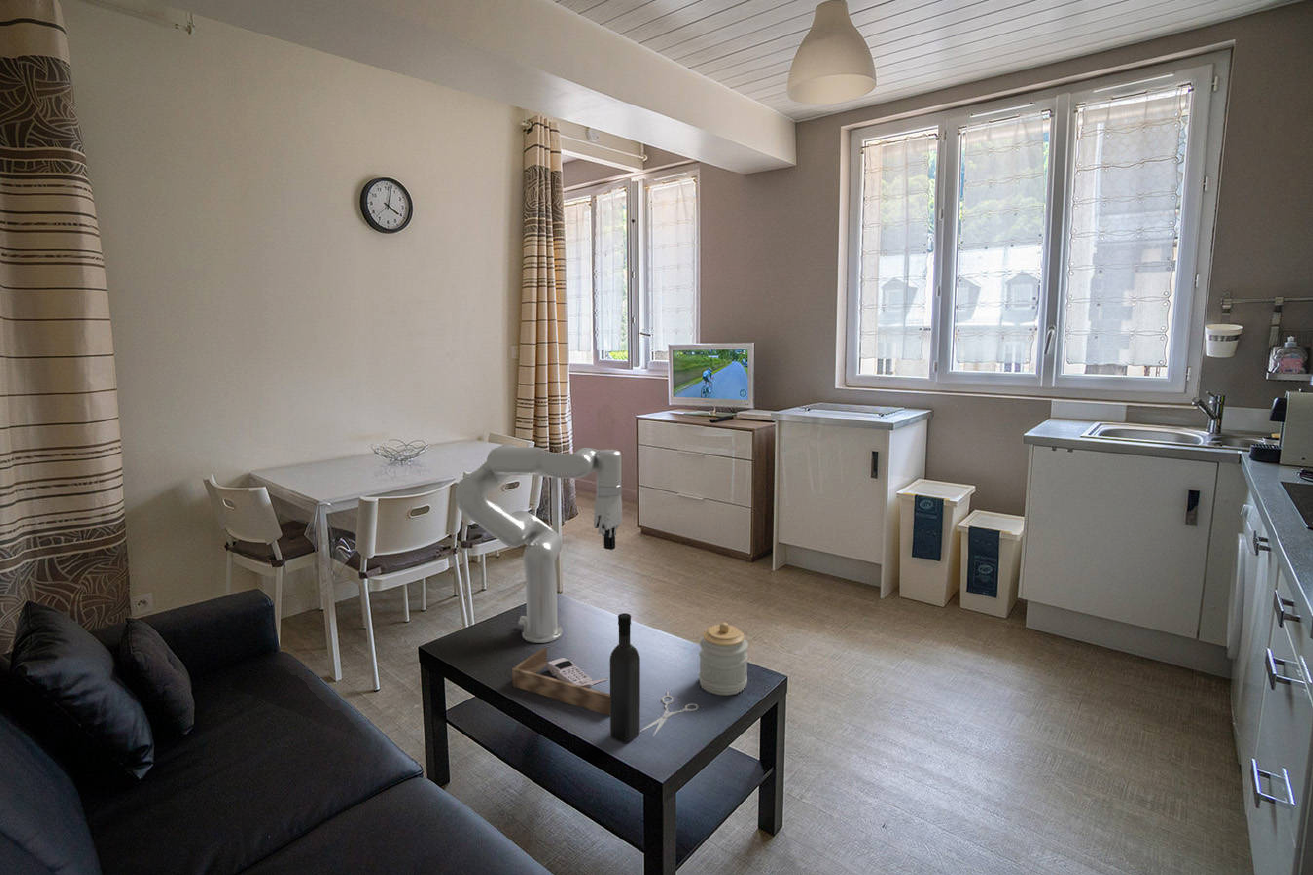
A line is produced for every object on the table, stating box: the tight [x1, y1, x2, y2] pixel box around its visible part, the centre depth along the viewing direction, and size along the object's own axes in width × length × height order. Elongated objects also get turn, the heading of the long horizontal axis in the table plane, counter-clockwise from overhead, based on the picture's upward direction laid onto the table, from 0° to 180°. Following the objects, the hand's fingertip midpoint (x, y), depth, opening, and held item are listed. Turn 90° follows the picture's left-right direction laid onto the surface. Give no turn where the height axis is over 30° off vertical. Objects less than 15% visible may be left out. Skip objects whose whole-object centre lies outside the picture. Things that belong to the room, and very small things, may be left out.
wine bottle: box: [609, 613, 641, 744], centre depth 158 cm, size 6×6×30 cm
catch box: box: [511, 647, 610, 716], centre depth 181 cm, size 31×14×5 cm, turn 63°
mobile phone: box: [546, 657, 609, 689], centre depth 184 cm, size 6×6×25 cm
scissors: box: [639, 691, 699, 737], centre depth 168 cm, size 11×1×20 cm
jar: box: [698, 622, 749, 696], centre depth 182 cm, size 13×13×18 cm
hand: (609, 548), depth 207 cm, fingers closed
